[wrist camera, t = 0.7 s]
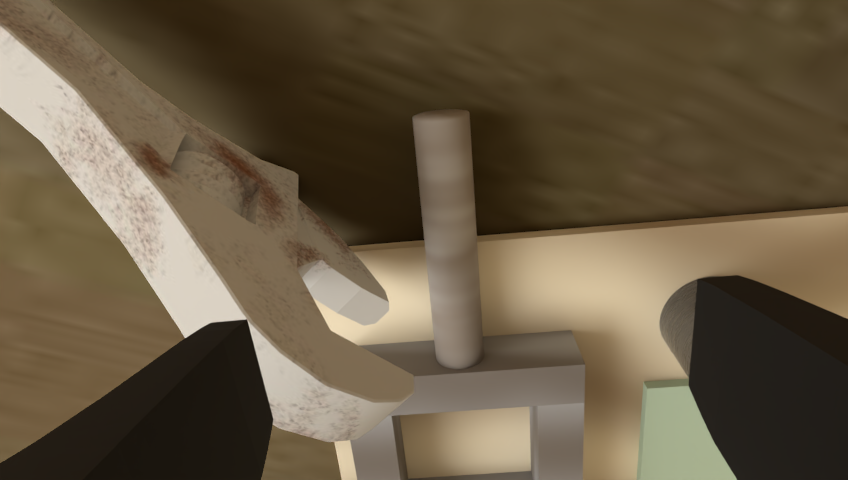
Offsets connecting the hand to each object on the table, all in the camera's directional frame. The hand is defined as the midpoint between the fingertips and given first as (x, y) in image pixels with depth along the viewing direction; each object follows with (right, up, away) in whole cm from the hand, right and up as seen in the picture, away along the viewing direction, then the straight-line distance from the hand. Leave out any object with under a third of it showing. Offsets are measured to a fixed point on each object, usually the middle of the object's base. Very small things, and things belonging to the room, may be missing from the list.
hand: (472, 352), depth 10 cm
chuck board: (+5, -2, +12) cm, 13 cm away
